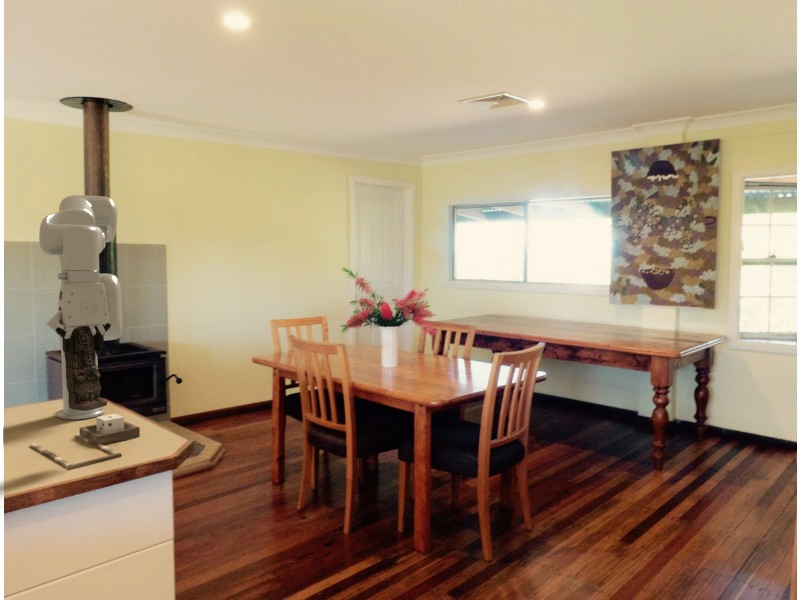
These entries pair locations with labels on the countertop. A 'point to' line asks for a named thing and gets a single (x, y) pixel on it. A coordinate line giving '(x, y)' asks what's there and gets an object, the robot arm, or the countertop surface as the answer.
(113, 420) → the die
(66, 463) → the brown rectangular frame
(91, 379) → the statue
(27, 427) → the countertop surface
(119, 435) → the dice tray
